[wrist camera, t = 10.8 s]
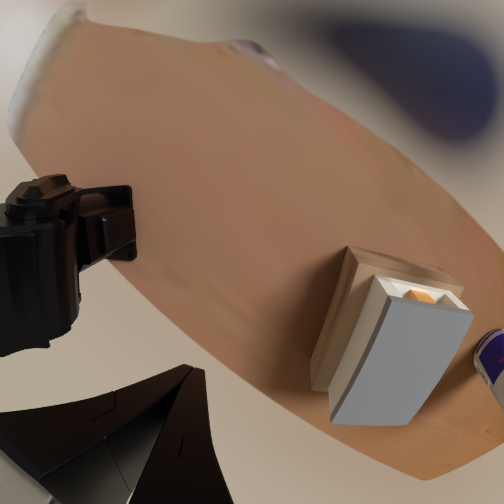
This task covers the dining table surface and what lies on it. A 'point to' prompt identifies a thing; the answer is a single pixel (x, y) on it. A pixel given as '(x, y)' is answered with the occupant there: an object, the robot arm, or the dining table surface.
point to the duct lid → (402, 362)
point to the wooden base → (353, 298)
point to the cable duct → (369, 320)
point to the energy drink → (492, 363)
